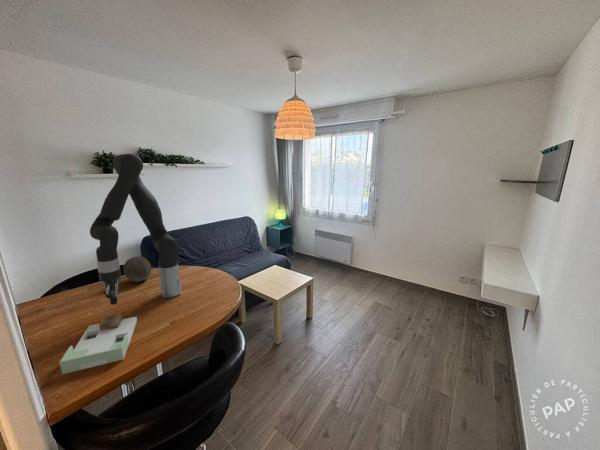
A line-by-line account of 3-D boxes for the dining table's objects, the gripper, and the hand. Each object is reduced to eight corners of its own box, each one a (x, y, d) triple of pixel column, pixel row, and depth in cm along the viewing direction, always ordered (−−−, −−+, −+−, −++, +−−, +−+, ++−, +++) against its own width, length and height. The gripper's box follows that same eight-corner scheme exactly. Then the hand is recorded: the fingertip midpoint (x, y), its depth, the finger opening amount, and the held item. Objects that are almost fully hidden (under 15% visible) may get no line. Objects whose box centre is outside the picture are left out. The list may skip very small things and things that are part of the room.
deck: (137, 320, 107) (135, 310, 106) (123, 359, 86) (121, 347, 85) (89, 329, 100) (87, 319, 99) (62, 374, 79) (59, 362, 78)
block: (121, 319, 104) (120, 313, 104) (118, 327, 99) (117, 321, 98) (105, 322, 102) (103, 316, 101) (100, 331, 97) (99, 324, 96)
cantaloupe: (157, 275, 150) (154, 253, 146) (144, 286, 136) (140, 262, 132) (134, 275, 149) (131, 253, 145) (118, 286, 135) (114, 262, 131)
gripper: (115, 273, 99) (120, 310, 103) (123, 262, 110) (127, 295, 114) (92, 276, 96) (98, 313, 100) (103, 263, 107) (108, 297, 111)
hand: (114, 303), depth 107 cm, fingers closed
